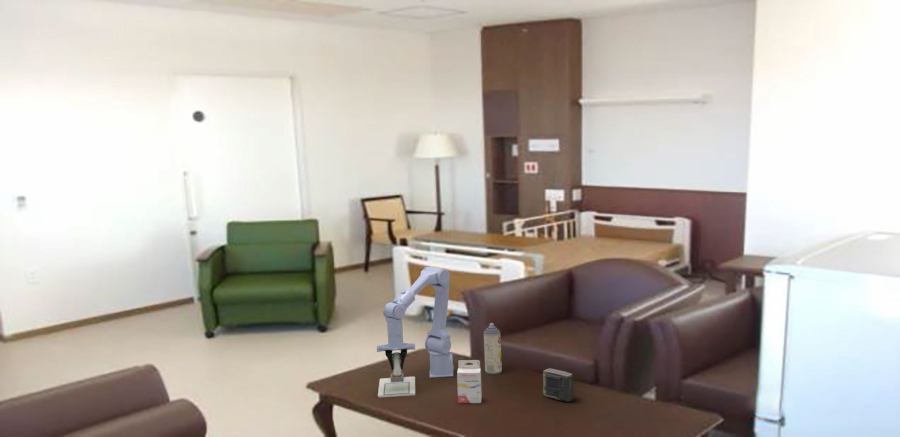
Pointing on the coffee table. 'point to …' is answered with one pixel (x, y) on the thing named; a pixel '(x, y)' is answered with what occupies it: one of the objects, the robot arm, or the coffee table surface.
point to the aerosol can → (492, 350)
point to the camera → (558, 384)
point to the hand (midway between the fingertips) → (397, 368)
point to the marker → (397, 363)
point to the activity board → (396, 386)
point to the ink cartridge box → (469, 382)
